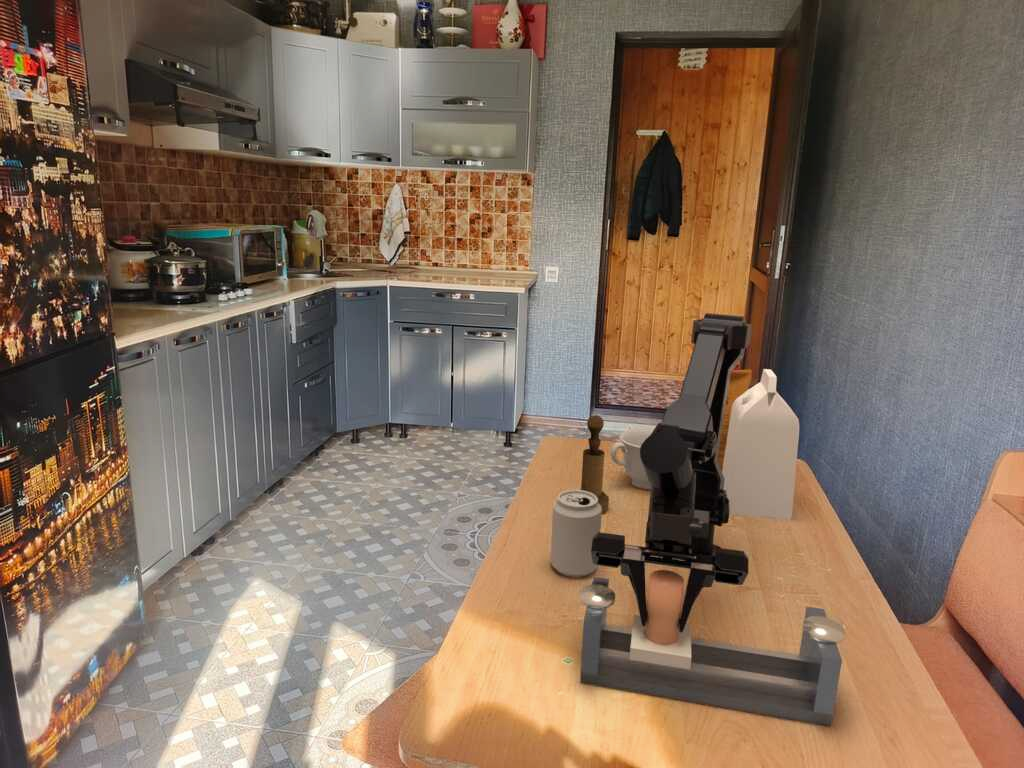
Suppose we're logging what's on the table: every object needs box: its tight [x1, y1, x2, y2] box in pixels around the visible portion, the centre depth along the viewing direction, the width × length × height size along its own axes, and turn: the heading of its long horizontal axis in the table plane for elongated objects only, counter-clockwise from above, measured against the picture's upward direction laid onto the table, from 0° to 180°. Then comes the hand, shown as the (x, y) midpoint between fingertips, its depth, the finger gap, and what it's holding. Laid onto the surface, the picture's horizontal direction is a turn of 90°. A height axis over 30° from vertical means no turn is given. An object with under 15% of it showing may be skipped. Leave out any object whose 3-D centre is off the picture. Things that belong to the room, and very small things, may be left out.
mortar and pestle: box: [579, 414, 610, 515], centre depth 128 cm, size 7×6×18 cm
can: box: [550, 489, 602, 578], centre depth 108 cm, size 8×8×12 cm
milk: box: [722, 368, 800, 521], centre depth 131 cm, size 12×12×26 cm
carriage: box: [630, 569, 692, 669], centre depth 84 cm, size 7×7×9 cm
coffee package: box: [717, 369, 753, 471], centre depth 151 cm, size 10×12×22 cm
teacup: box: [609, 427, 655, 490], centre depth 140 cm, size 12×15×10 cm
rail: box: [578, 576, 846, 727], centre depth 84 cm, size 30×10×9 cm, turn 77°
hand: (662, 628), depth 83 cm, fingers closed on carriage, 4 cm apart
